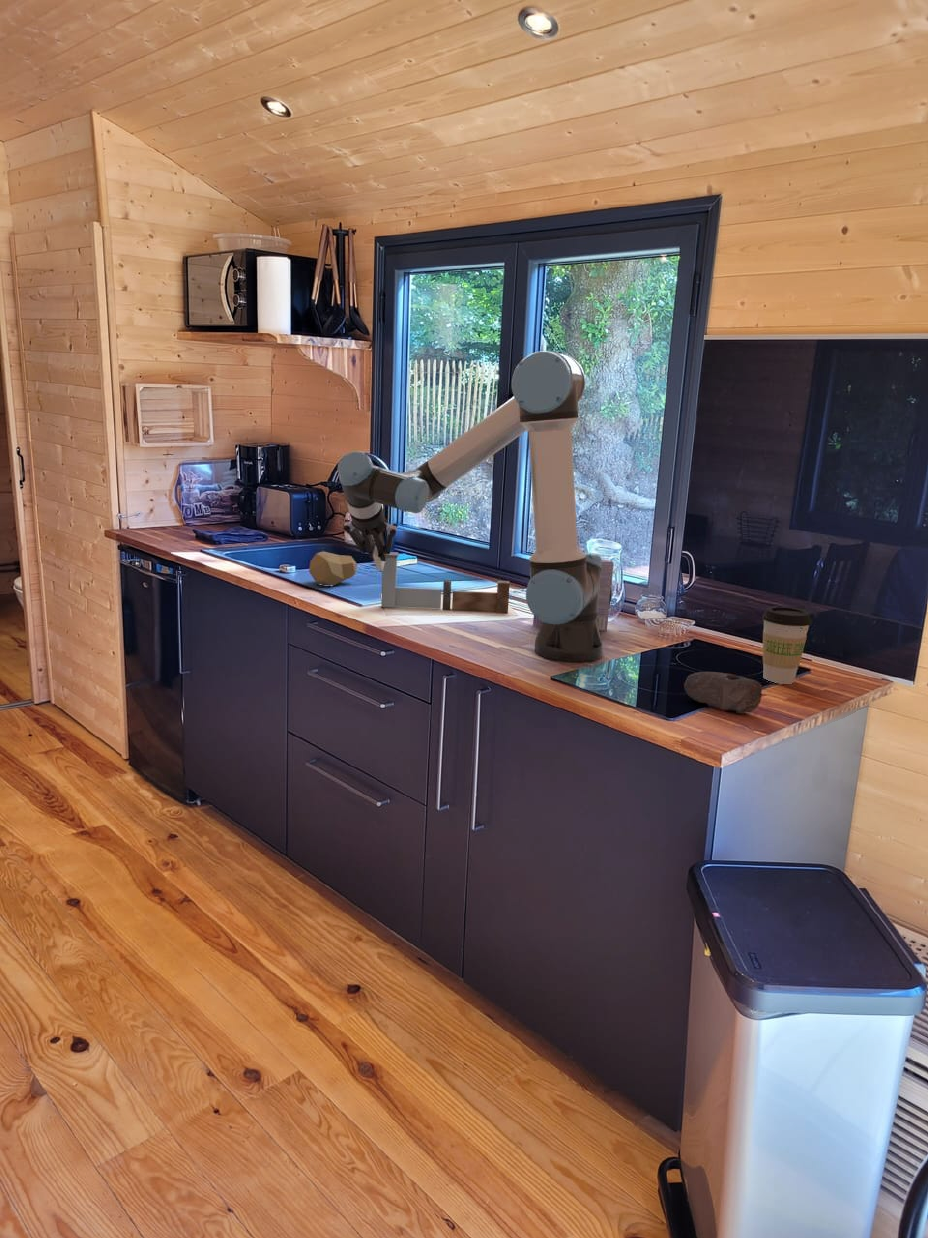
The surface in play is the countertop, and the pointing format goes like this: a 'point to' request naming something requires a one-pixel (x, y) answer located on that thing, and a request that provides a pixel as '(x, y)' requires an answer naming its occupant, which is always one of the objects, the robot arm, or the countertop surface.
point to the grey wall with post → (405, 590)
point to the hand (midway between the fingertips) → (380, 566)
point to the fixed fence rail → (477, 599)
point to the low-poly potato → (332, 568)
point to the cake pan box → (604, 597)
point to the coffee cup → (783, 642)
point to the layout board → (441, 611)
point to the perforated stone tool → (724, 691)
